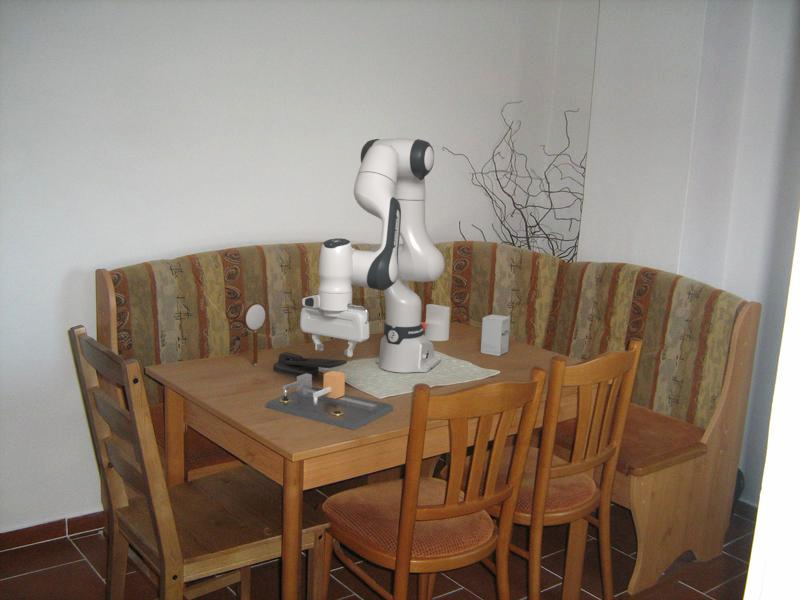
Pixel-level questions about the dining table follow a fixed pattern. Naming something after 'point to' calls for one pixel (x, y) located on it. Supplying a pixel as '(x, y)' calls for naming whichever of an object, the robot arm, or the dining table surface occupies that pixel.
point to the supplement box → (495, 335)
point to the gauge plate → (328, 405)
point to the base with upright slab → (437, 322)
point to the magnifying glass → (255, 323)
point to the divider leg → (331, 386)
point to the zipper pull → (303, 365)
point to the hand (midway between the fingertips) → (333, 353)
